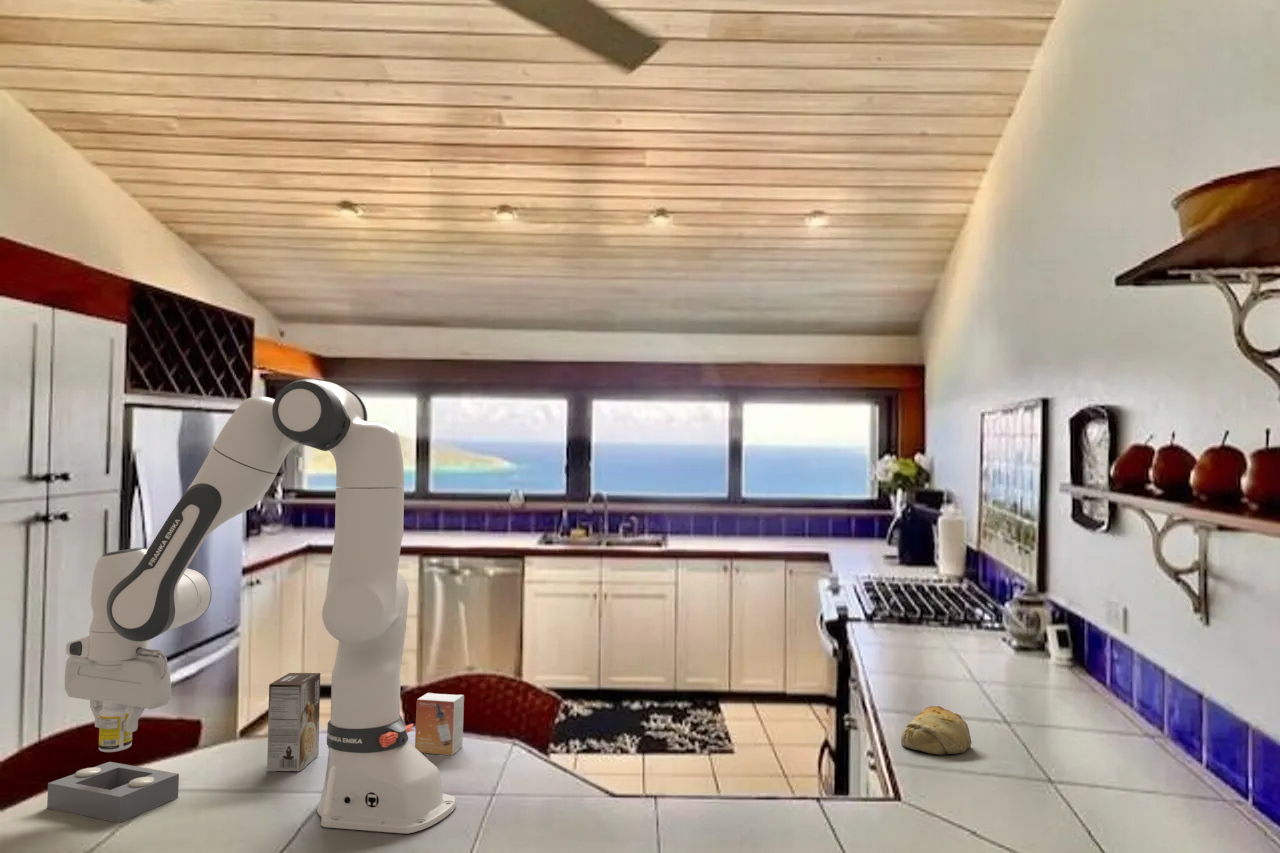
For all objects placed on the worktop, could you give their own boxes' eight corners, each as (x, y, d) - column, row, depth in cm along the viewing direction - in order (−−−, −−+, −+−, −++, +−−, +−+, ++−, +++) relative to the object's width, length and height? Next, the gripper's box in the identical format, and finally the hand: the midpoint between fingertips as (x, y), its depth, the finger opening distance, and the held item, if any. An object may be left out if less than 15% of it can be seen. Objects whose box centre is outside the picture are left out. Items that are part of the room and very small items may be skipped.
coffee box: (286, 755, 168) (289, 671, 169) (319, 755, 168) (321, 672, 169) (265, 772, 159) (268, 683, 160) (300, 772, 159) (302, 684, 160)
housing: (178, 797, 146) (179, 771, 147) (119, 822, 136) (120, 794, 136) (108, 784, 152) (109, 759, 152) (47, 807, 142) (48, 780, 142)
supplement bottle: (125, 741, 148) (127, 691, 148) (136, 747, 145) (138, 696, 145) (93, 748, 144) (96, 697, 144) (104, 754, 141) (106, 702, 141)
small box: (414, 753, 171) (415, 699, 171) (425, 744, 176) (427, 691, 177) (452, 756, 169) (454, 701, 170) (463, 747, 175) (464, 694, 175)
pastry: (966, 740, 184) (966, 702, 184) (977, 760, 171) (977, 719, 172) (897, 735, 186) (897, 698, 187) (903, 754, 174) (903, 714, 174)
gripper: (182, 647, 145) (179, 731, 144) (93, 636, 152) (89, 717, 151) (150, 654, 139) (146, 742, 138) (58, 643, 146) (54, 727, 145)
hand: (115, 729), depth 145 cm, fingers closed on supplement bottle, 5 cm apart
